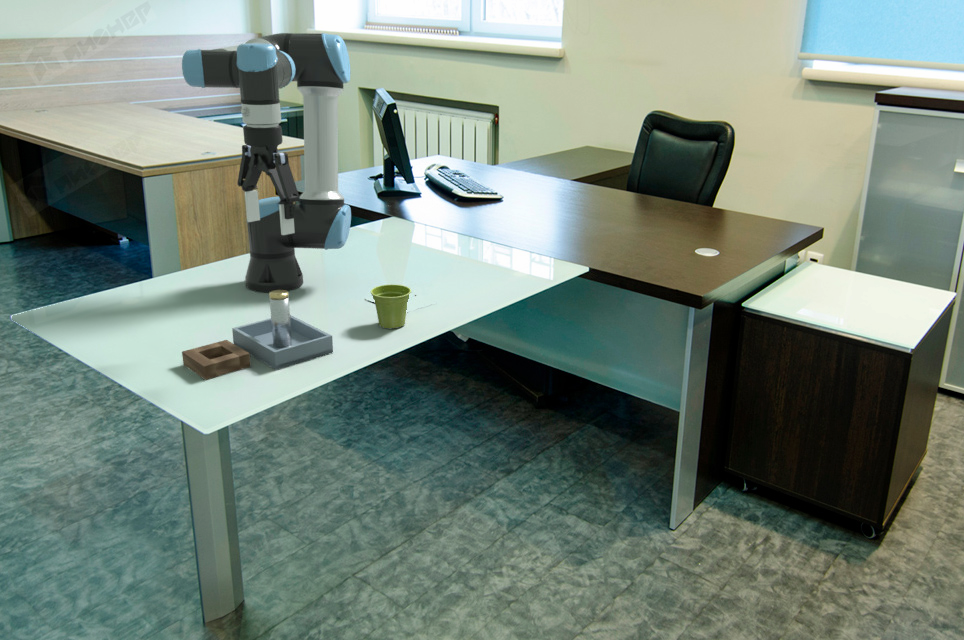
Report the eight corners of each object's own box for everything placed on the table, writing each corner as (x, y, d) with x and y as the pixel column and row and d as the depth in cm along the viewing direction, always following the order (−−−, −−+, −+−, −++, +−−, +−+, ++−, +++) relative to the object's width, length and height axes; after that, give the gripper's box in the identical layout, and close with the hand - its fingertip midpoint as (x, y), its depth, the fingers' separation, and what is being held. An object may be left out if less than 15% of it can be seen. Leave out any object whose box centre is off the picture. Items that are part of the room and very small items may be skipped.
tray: (289, 329, 190) (288, 313, 189) (333, 352, 178) (332, 335, 177) (233, 345, 181) (232, 328, 180) (276, 370, 169) (274, 352, 168)
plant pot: (400, 334, 189) (400, 299, 186) (364, 328, 192) (363, 293, 189) (418, 321, 197) (417, 287, 194) (383, 315, 200) (382, 282, 197)
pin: (285, 339, 182) (282, 288, 178) (295, 344, 179) (291, 293, 175) (269, 344, 179) (265, 292, 175) (279, 349, 177) (275, 297, 172)
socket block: (227, 352, 177) (226, 339, 176) (250, 366, 170) (249, 353, 169) (183, 364, 171) (181, 351, 169) (205, 380, 164) (204, 366, 163)
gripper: (214, 119, 170) (224, 218, 178) (279, 134, 154) (287, 243, 161) (247, 116, 175) (255, 213, 183) (313, 130, 159) (319, 236, 166)
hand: (270, 227), depth 172 cm, fingers open, 13 cm apart
